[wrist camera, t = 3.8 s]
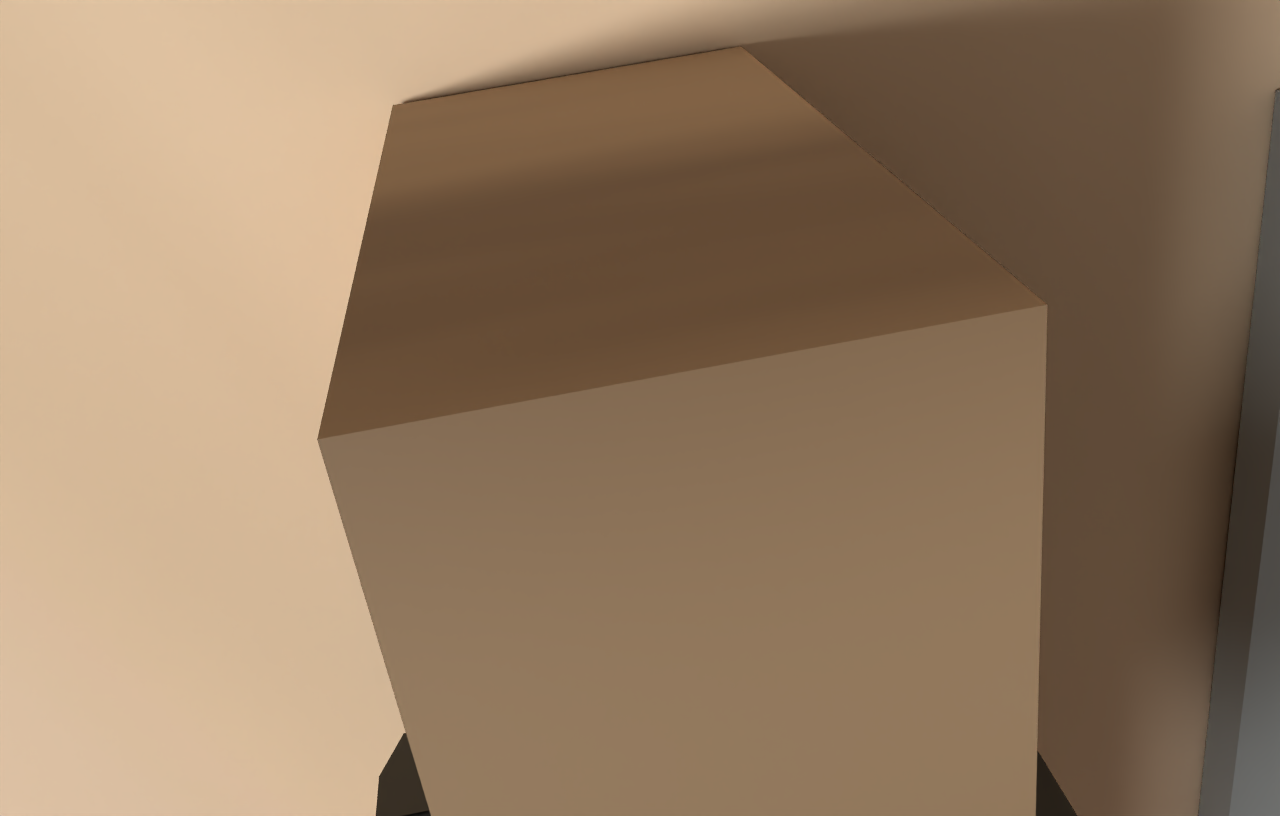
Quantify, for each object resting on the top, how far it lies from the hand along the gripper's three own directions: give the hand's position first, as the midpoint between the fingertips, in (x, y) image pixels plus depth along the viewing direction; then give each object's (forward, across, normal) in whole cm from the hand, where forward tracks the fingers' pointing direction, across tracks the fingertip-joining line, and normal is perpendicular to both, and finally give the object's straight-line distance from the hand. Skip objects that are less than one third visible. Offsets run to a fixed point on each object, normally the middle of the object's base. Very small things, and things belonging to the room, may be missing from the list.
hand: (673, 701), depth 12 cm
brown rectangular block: (+1, 0, 0) cm, 1 cm away
